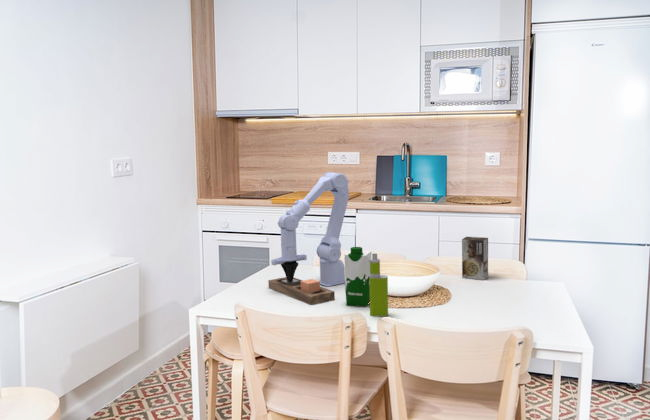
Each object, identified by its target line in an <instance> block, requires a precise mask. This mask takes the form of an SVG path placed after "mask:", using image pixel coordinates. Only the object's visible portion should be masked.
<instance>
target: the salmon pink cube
mask: <svg viewBox="0 0 650 420" xmlns="http://www.w3.org/2000/svg"><path fill="white" fill-rule="evenodd" d="M319 281H320V280H316V279H313V278H311V279H305V280H303V281H301V290H302V291H305V292H308V293H310V294H311V293H312V292H316V291H320V287H321V284H320V282H319Z"/></svg>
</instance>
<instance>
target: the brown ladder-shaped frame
mask: <svg viewBox="0 0 650 420" xmlns="http://www.w3.org/2000/svg"><path fill="white" fill-rule="evenodd" d="M293 279H295V280H298V281H299V285H297V286H289V285H286V284H284V283H281V281H282V280H287V278H286V276H285V277H284V276H283V277H278V278H273V279H268V289H271V290H273V291H276V292H277V293H280V294H283V295H286V296H287V297H291V298H293V299H296V300H298V301H301V302H303V303H305V304H308V305H311V306H313V305H318V304H322V303H327V302H331V301H335V294H336V293H335V290H334V291H333V290H331V289H328V288H326V287H322V286H320V291H316V292H312V293H308V292H305V291H302V290H301V281H304V280H302V279H299V278H296V277H295V276H294V277H293Z"/></svg>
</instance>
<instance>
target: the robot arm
mask: <svg viewBox="0 0 650 420" xmlns="http://www.w3.org/2000/svg"><path fill="white" fill-rule="evenodd" d="M348 185H349V179H348V177H347V176H346V175H345V174H344V173H343V172H331V171H327V172H325V173H324V174H322V176H320V178H319V179H318V181H317V183H315V185H314V186H313V187H312V188H311V190H310V191H309V192H308V193H307V195H306V196H305V197H304V198H303V199H298V200H295V201H294V204H293V206H292V207H290V208H289V209H288V210H286V211H285V214H282V215H280V217H279V218H278V221H277V226H278V227H279V229H280V248H281V249H280V251H281V257H278V258H277V257H276V258H274V259H271V265H272V266H277V265H280V267H281V268H282V270H283V272H284V274H285V277H286V278H287V281H289V282H290V281H293V277H294V278H295V273H296V270H297V268H298V266H299V262H301V261H307V254H297V253H298V252H297V228H298V226H299V223H300V221H301V220H302V219H303V218H304V217H305V216H306V214H307V213H309V212H310V210H311V205H312V204H313V203H314V202H316V200H317V199H318V198H319V197H320V196H321V195H322V194H324V192H328V191H330V192H331V194H332V196H333V197H334V199H333V203H332V208H331V211H330V216H329V220H328V224H327V227H326V232H325V235H324V237H322V238H321V240H320V243H319V244H318V246H317V247H316V255H317V257H318V258H319V276H320V277H319V278H320V279H319V280H318V281H319V282H320V286H321V285H322V286H325V287H331V286H335V285H340V284H345V262H343V260H341V257H342V256H341V255H342V252H341V247H342V244H341V241H340V235H341V232H342V226H343V222H344V218H345V214H346V210H347V206H348V203H349V199H350V192H349V191H350V190H349V186H348Z"/></svg>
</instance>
